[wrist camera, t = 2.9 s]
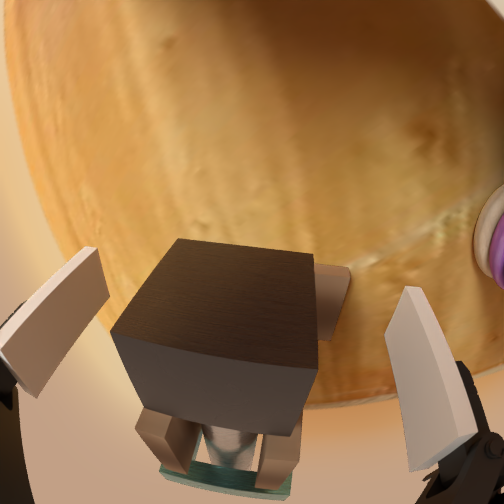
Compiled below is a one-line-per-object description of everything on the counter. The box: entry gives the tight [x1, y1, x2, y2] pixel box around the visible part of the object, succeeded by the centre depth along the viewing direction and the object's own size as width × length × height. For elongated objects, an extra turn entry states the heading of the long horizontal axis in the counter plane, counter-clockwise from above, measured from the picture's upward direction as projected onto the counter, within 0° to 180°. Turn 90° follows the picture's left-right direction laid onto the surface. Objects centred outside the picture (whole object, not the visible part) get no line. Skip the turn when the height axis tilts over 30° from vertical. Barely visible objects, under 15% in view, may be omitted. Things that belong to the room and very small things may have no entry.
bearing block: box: [135, 264, 350, 490], centre depth 15 cm, size 6×12×13 cm, turn 87°
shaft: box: [110, 238, 318, 471], centre depth 12 cm, size 18×5×5 cm, turn 177°
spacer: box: [159, 427, 292, 501], centre depth 16 cm, size 2×8×8 cm, turn 87°
